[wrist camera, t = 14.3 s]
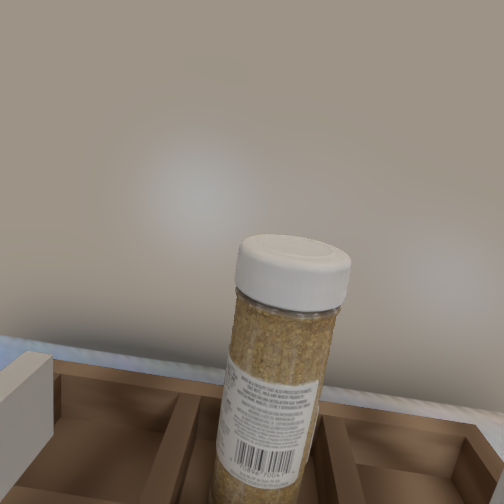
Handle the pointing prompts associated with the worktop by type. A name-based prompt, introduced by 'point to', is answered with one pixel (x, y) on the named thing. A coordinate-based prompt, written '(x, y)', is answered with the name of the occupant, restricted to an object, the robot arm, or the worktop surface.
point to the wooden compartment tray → (204, 449)
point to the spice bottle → (276, 366)
